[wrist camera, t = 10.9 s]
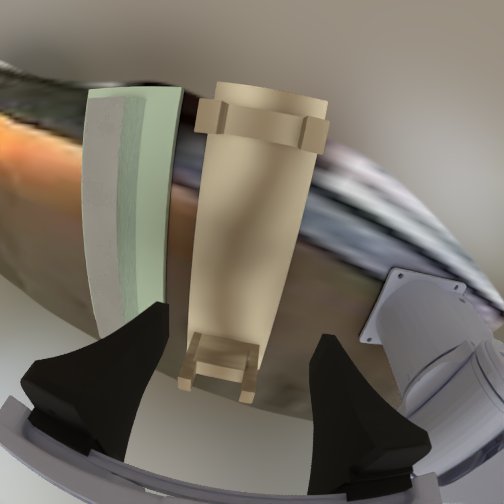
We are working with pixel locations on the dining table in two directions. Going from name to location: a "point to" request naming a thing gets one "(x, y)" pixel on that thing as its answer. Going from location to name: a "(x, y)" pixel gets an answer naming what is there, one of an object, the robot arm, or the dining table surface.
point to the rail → (111, 206)
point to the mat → (151, 184)
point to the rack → (247, 224)
